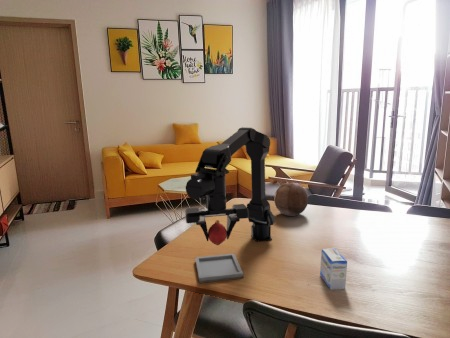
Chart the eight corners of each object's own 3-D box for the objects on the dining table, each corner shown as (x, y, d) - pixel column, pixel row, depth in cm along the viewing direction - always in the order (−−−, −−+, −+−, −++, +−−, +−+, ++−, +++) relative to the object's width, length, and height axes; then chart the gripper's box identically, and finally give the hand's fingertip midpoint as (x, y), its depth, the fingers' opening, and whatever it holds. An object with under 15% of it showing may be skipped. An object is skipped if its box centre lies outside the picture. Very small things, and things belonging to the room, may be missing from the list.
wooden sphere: (310, 211, 151) (311, 180, 148) (303, 222, 138) (304, 188, 134) (279, 208, 157) (279, 178, 154) (269, 218, 144) (270, 185, 141)
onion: (224, 250, 96) (224, 224, 94) (206, 248, 97) (205, 223, 96) (228, 241, 102) (228, 217, 100) (210, 240, 103) (210, 216, 101)
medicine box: (319, 275, 96) (320, 248, 95) (334, 274, 97) (335, 247, 95) (330, 290, 89) (331, 261, 87) (346, 289, 89) (347, 260, 87)
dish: (234, 257, 108) (234, 253, 108) (243, 277, 96) (243, 273, 96) (195, 261, 106) (195, 257, 106) (199, 282, 94) (199, 278, 93)
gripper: (240, 182, 105) (241, 227, 108) (183, 185, 102) (185, 232, 105) (249, 191, 94) (249, 240, 98) (185, 196, 91) (187, 247, 95)
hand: (217, 239), depth 99 cm, fingers closed on onion, 6 cm apart
